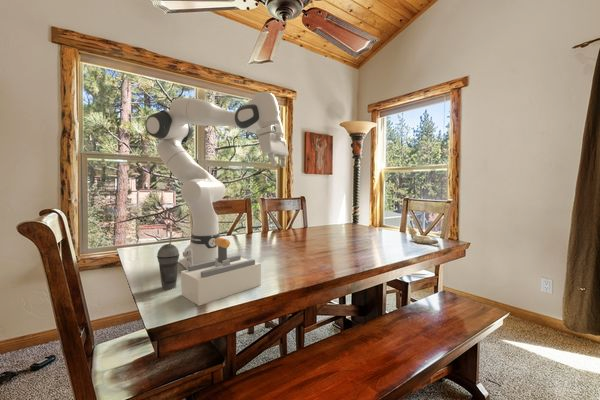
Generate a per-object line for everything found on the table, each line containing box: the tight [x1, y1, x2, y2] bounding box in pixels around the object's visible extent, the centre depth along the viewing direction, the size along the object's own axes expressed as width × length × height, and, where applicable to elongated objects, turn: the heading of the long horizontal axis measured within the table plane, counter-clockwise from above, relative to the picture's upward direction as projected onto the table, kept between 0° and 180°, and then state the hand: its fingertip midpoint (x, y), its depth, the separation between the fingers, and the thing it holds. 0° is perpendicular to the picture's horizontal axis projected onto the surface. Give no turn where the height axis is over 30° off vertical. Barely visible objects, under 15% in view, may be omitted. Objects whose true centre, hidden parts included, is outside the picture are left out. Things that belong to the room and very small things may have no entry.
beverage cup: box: [156, 231, 180, 290], centre depth 101 cm, size 7×7×20 cm
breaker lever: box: [215, 236, 231, 263], centre depth 99 cm, size 5×3×8 cm, turn 46°
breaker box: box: [180, 257, 262, 307], centre depth 99 cm, size 12×24×11 cm, turn 136°
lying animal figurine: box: [407, 224, 439, 245], centre depth 177 cm, size 9×21×10 cm, turn 31°
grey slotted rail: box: [187, 254, 256, 278], centre depth 99 cm, size 11×20×2 cm, turn 136°
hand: (279, 166), depth 113 cm, fingers open, 8 cm apart
